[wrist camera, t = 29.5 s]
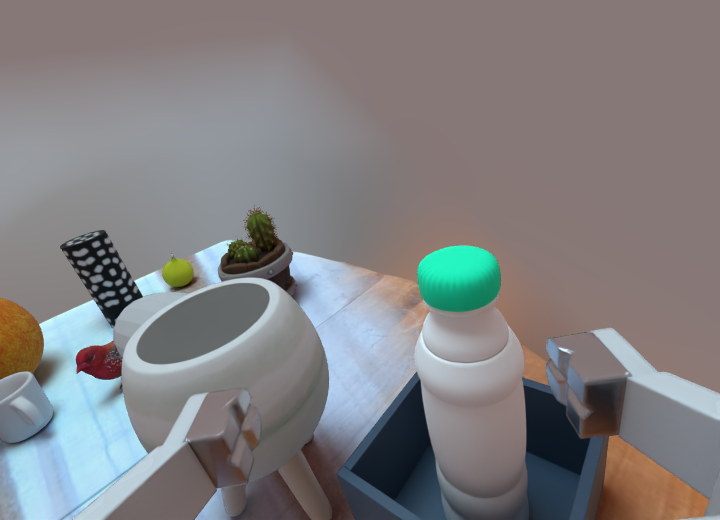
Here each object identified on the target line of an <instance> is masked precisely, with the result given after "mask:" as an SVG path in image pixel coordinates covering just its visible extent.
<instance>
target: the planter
mask: <svg viewBox="0 0 720 520" xmlns="http://www.w3.org/2000/svg"><path fill="white" fill-rule="evenodd" d="M122 387H123V394H124V400H125V404H126V408H127V412H128V415H129V418H130V421H131V423H132V426H133V428H134V430H135V433H136V435H137V437H138V438H139V440H140V442H141V444H142V445H143V447H144V448H145V450H146V451H147V453H148V454H149V453H150V452H152V451H153V450H154V449H155V448H156V447H158V446H163V444H164V442H165V441H166V439H167V437H168V435H169V433H170V432H171V430H172V428H173V426H174V424H175V422H176V421H177V419H178V417H179V415H180V413H181V412H182V410H183V408H184V406H185V404H186V402H187V401H188V399H189V398H190V397H191V396H192V395H194V394H201V393H209V392H213V391H220V390H228V389H235V388H242V387H244V388H248V390H249V392H250V394H251V396H252V398H251V401H250V404H251V405H253V406H254V407H256V408H257V409H258V411H259V413H260V416H261V421H262V434H261V438H260V442H259V444H258V445H257V447H256V448H255V449H254V450H253V451H252V455H253V457H254V459H255V460H254V463H253V467H252V470H251V474H250V477H249V481H248V483H251V482H253V481H256V480H259V479H261V478H263V477H265V476H267V475H269V474H271V473H273V472H274V471H276V470H278V472H279V473H280V475H281V476H282V478H283V479H284V481H285V482H286V484H287V485H288V487H289V488H290V490H291V491H292V493H293V494H294V496H295V497H296V499H297V500H298V502H299V503H300V504H301V506H302V507H303V509H304V510H305V512H306V513H307V515H308V516H309V518H310V519H311V520H330V519H331V517H332V507H331V505H330V503H329V501H328V499H327V497H326V495H325V493H324V492H323V490H322V488H321V486H320V484H319V482H318V481H317V479H316V477H315V475H314V473H313V471H312V470H311V468H310V466H309V464H308V462H307V460H306V458H305V456H304V455H303V453H302V451H301V448H302V447H303V446H304V445H305V444H307V443H309V442H310V441H311V440H312V438H313V432H314V430H315V428H316V427H317V425H318V423H319V421H320V418H321V416H322V413H323V411H324V408H325V404H326V400H327V396H328V388H329V371H328V363H327V359H326V355H325V351H324V348H323V345H322V343H321V340H320V338H319V336H318V334H317V332H316V330H315V328H314V326H313V324H312V323H311V321H310V319H309V318H308V316H307V315H306V314H305V312H304V311H303V310H302V308H301V307H300V306H299V305H298V303H297V302H296V301H295V300H294V299H293V298H292V297H291V296H290V295H289V294H288V293H287V292H286V291H284V290H283V289H282V288H281V287H279V286H278V285H276V284H275V283H273V282H271V281H269V280H266V279H262V278H239V279H233V280H228V281H223V282H220V283H216V284H213V285H210V286H207V287H204V288H202V289H199V290H197V291H194V292H192V293H190V294H188V295H186V296H184V297H182V298H180V299H178V300H176V301H174V302H173V303H171V304H169V305H168V306H166V307H164V308H163V309H161V310H160V311H159V312H157V313H156V314H154V315H153V316H152V317H151V318H149V319H148V320H147V321H146V322H145V323H144V324H143V325H141V327H140V328H139V329H138V330H137V331H136V332H135V333H134V334H133V336H132V337H131V338H130V340H129V341H128V343H127V345H126V347H125V350H124V353H123V359H122ZM246 484H247V483H246ZM246 484H240V485H234V486H228V487H222V488H221V489H222V495H223V501H224V506H225V509H226V512H227V514H228V515H229V516H237V515H239V514H240V513H241V512H242V511H243V510H244V508H245V506H246Z"/></svg>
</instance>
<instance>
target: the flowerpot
mask: <svg viewBox="0 0 720 520" xmlns="http://www.w3.org/2000/svg"><path fill="white" fill-rule="evenodd" d="M251 212H253V211H251V210H250V213H251ZM257 212H258V211H255V210H254V212H253V215H250V217H249V218H248V220H246V222H247V227H246V228H247V229H248V230H249V231H250V236H249V237H251V238H252V239H253V240H254V241H253V240H252V242H249V243H247V242H243V239H242V240H238V239H237V241H236V240H235V241H234V242H231V244H230V245H229V244H227V246H228V245H229V249H228V253H226V254H225V255H224V256H223V257H222V258H221V264H220V265H219V267H218V274H219V277H220V279H221V281H222V282H223V281H228V280H233V279H239V278H262V279H266V280H269V281H271V282H273V283H275V284H276V285H278V286H279V287H281V288H282V289H283V290H284V291H286V292H287V293H288V294H289V295H290V296H291V297H293V294H294V292H295V287H296V286H297V285H296V284H295V280H294V278H293V277H292V276H290V269H289V264H290V263H291V261H292V255H293V252H291V249H290V247H289V246H288V245H287V244H286V243H283V242H282V241H281V240H279V239H278V238H277V236H276V235H275V233H273V232H274V228H275V227H274V226H272V225H273V224H271V219H272V218H271V219H270V218H268V215H264V214H261V212H260V210H259V213H257ZM251 214H252V213H251ZM248 216H249V215H248ZM245 230H246V229H245ZM274 235H275V236H276V237H275V236H274ZM232 241H233V240H232ZM224 246H225V245H224Z"/></svg>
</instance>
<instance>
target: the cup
mask: <svg viewBox="0 0 720 520" xmlns="http://www.w3.org/2000/svg"><path fill="white" fill-rule="evenodd" d="M52 416H53V407H52V405H51V403H50V401H49V400H48V398H47V397H46V395H45V393H44V392H43V390H42V388H41V387H40V385H39V383H38V382H37V380H36V378H35V377H34V375H33V374H32V373H31V372H19V373H15V374H12V375H10V376H7V377H5V378H3V379H1V380H0V439H1V440H2V441H4V442H8V443H15V442H19V441H22V440H25V439H27V438H29V437H31V436H32V435H34V434H35V433H37V432H38V431H40V430H41V429H42V428H43V427H44V426H45V425H46V424H47V423H48V422H49V421H50V419H51V418H52Z"/></svg>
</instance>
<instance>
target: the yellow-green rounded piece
mask: <svg viewBox="0 0 720 520" xmlns="http://www.w3.org/2000/svg"><path fill="white" fill-rule="evenodd" d="M171 257H172V259H171V261H169V262H168V263H167V264H166V265H165V266H164V268H163V271H162V276H163V279H164V280H165V282H166V283H167V284H169V285H171V286H173V287H182V286H185V285H187V284H188V283H189V282H190V281H191V280H192V278H193V274H194V271H193V268H192V266H191V264H190V263H189V262H187V261H185V260H182V259H175V257H174V255H171Z"/></svg>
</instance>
